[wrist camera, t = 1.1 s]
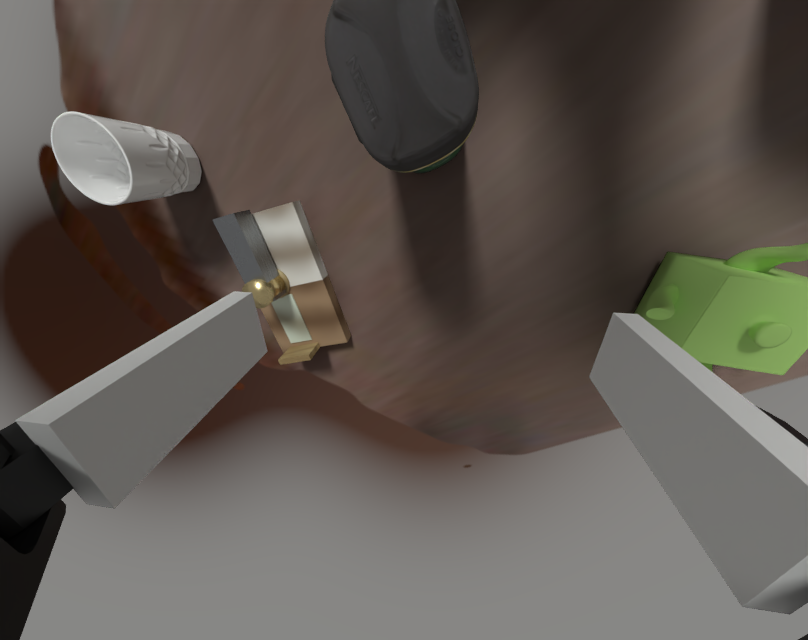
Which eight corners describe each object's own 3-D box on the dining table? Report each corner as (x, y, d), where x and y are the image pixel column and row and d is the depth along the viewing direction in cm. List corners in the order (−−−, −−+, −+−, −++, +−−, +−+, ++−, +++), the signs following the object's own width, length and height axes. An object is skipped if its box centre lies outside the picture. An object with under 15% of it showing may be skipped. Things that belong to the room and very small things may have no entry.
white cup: (149, 111, 35) (47, 92, 26) (212, 148, 36) (134, 142, 27) (143, 176, 38) (52, 178, 29) (201, 208, 39) (129, 220, 30)
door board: (228, 221, 39) (197, 229, 35) (299, 200, 37) (277, 205, 32) (289, 346, 48) (271, 366, 43) (351, 335, 45) (339, 355, 40)
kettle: (597, 278, 37) (653, 318, 27) (731, 200, 31) (864, 214, 21) (647, 359, 41) (712, 420, 31) (773, 303, 35) (901, 354, 25)
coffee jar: (474, 149, 32) (503, 128, 16) (409, 182, 34) (374, 195, 18) (441, 45, 28) (433, -122, 12) (371, 90, 31) (285, 2, 14)
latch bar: (289, 293, 40) (274, 305, 37) (267, 298, 41) (250, 310, 38) (251, 209, 36) (230, 213, 32) (227, 216, 37) (203, 221, 33)
